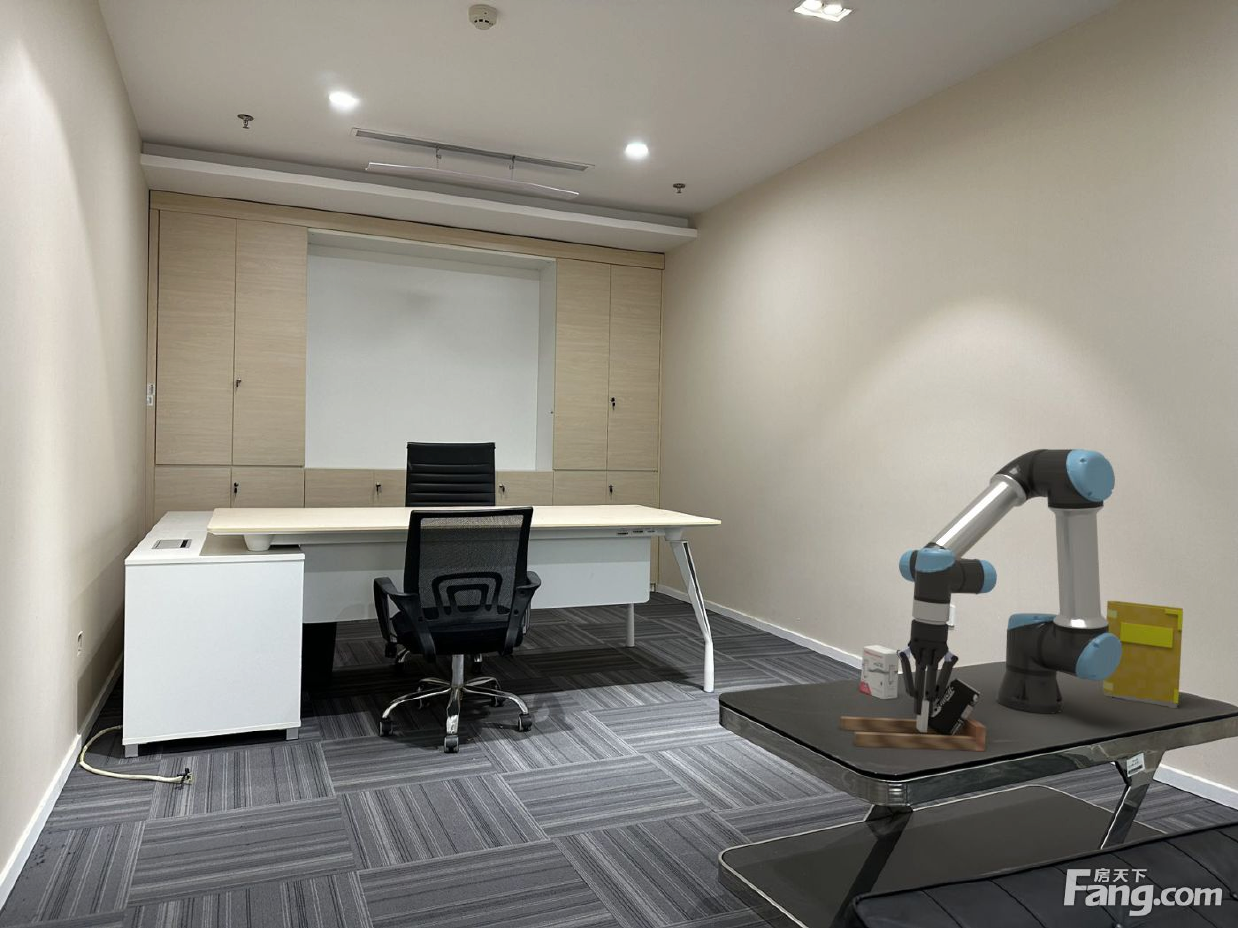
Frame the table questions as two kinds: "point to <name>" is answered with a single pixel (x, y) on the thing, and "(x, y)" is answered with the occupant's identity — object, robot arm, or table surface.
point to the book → (1146, 650)
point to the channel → (965, 739)
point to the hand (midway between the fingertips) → (921, 729)
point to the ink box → (879, 672)
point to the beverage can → (953, 708)
